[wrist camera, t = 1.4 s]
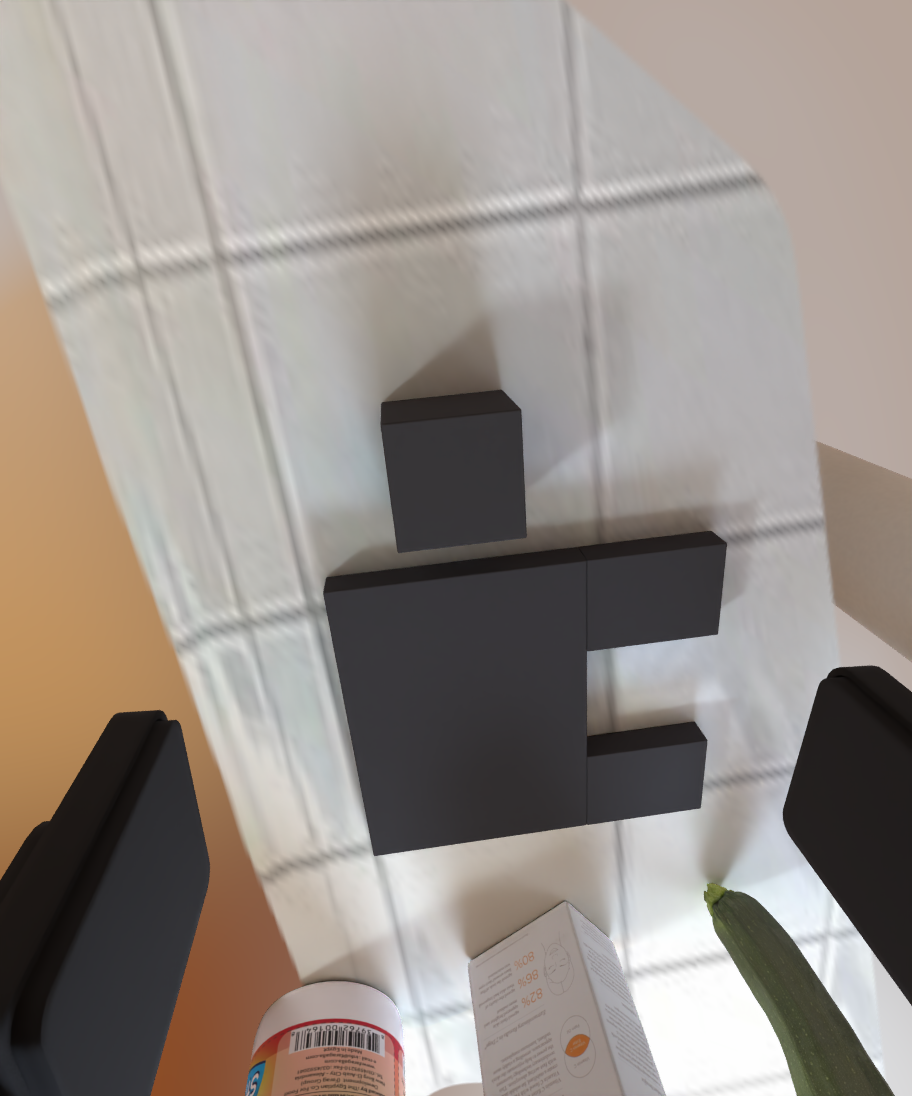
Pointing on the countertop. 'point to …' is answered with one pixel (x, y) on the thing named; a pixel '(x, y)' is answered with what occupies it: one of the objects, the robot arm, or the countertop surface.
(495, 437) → the pad piece
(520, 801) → the base pad
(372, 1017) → the fruit juice
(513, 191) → the countertop surface
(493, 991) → the small box
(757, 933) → the vegetable
